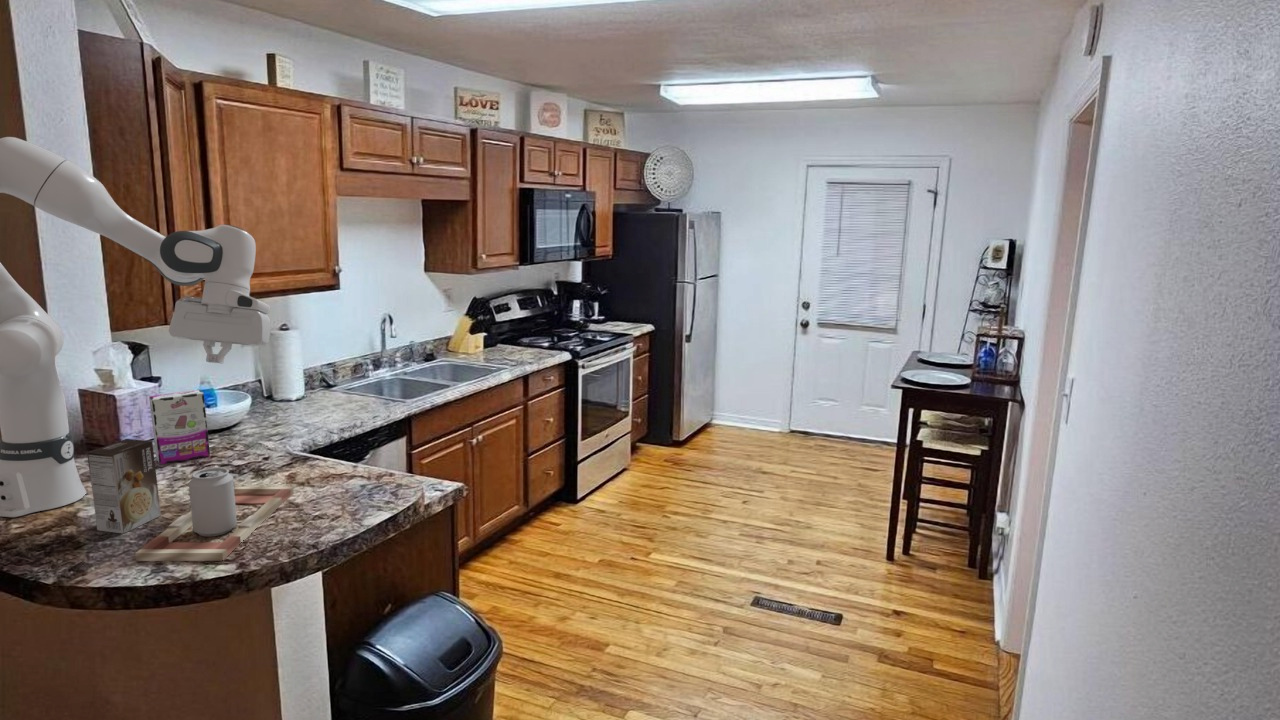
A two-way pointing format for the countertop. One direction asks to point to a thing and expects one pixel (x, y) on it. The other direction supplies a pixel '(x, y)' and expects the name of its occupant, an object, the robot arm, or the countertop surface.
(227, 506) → the can
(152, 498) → the coffee box
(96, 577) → the countertop surface
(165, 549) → the flat rectangular frame
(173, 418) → the candy bar box
